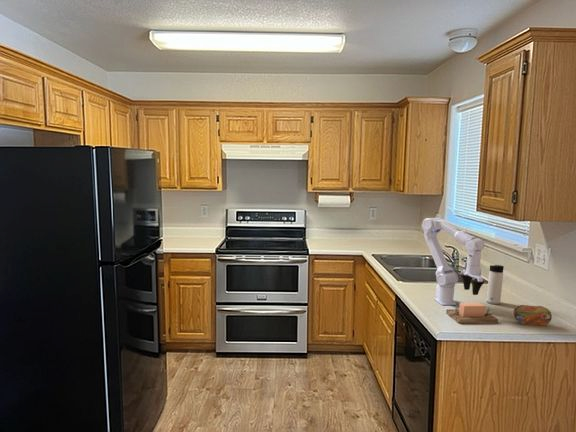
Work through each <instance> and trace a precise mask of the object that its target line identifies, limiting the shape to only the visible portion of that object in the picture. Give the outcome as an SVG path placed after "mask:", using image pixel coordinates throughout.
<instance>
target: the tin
mask: <svg viewBox="0 0 576 432" xmlns="http://www.w3.org/2000/svg"><path fill="white" fill-rule="evenodd" d="M513 318H514V320H516V321H517V323H519V324H521V325H525V326H538V325H539V327H540V326H542V327H543V326H546V325H549V324H550V322H551V321H552V318H553V315H552V312H551V311H550V309H548V308H547V307H544V306H542V305H530V304H529V305H528V304H520V305H517V306H516V307H515V308H514V310H513Z"/></svg>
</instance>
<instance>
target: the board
mask: <svg viewBox="0 0 576 432" xmlns="http://www.w3.org/2000/svg"><path fill="white" fill-rule="evenodd" d="M490 310H491V309H490V307H489V306H487V307H486V308H485V316H479V317H462V316H460V315H459V308H458V307H454V309H450V308H449V309H448V308H447V309H446V310H445V313H446V315H448V316H449V317H450V318H451V319H452V320H454V321H455V322H456V323H457V324H465V325H466V324H468V325H469V324H498V323H499V318H497V317H496V316H495V315H493V314H492V313H490Z"/></svg>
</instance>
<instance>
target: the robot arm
mask: <svg viewBox="0 0 576 432" xmlns="http://www.w3.org/2000/svg"><path fill="white" fill-rule="evenodd" d="M421 228H422V230H423V235H424V236H423V237H424V240H425V242H426V245H427V246H428V247H427V248H428V249H429V252H430V254H431V257H432V258H433V262H434V263H435V266H436V268H437V269H436V271H435V277H436V282H437V284H436V287H435V294H434V295H435V297H433V300H434V301H436V302H437V303H438V304H440V305H442V306H456V305H457V302H455V301H454V295H455V286H456V284H457V283H458V282H459V276H458V274H457V272H455V270H454V268H453V267H452V266H450V265H449V263H448V261H447V260H446V259H447V258H446V257H445V254H444V252H443V249H442V247H441V245H440V243H439V240H438V238H437V237H438V235H439V233H440V232H441V231H442V230H443V231H444V232H446V233H448V234H449V235H451V236H453V237H454V240H455V241H456V242H458V243H460V244H461V245H462V246H463V247H465V249H466V253H467V256H466V258H467V259H466V266H465V267H466V268H463V269H462V274H460V277H461V280H462V283H463V289H464V290H465V291H467V290H468V291H469V290H470V288H471V287H472V289H471V291H472V292H471V293H472V295H473V296H478V295H479V292H480V290H481V288H482V286H483V285H484V283H485V281H484V277H482V275H481V274H480V269H481V257H482V250H484V248H485V242H484V240H483V239H481V238H476V237H475V236H474V235H471V234H469V233H468V231H466V230H464V229H463V230H458V229H457V228H455V227H454V226H452V224H450V223H448V222H447V221H446V220H445V219H444V218H442V217H440V216H438V217H426V218H424V220H423V221H422V224H421Z"/></svg>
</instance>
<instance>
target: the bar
mask: <svg viewBox="0 0 576 432" xmlns="http://www.w3.org/2000/svg"><path fill="white" fill-rule="evenodd" d="M458 309H459V315H460V316H462V317H479V316H485V311H486V304H485V305H484V304H483V303H482V302H460V303H459V308H458Z"/></svg>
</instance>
